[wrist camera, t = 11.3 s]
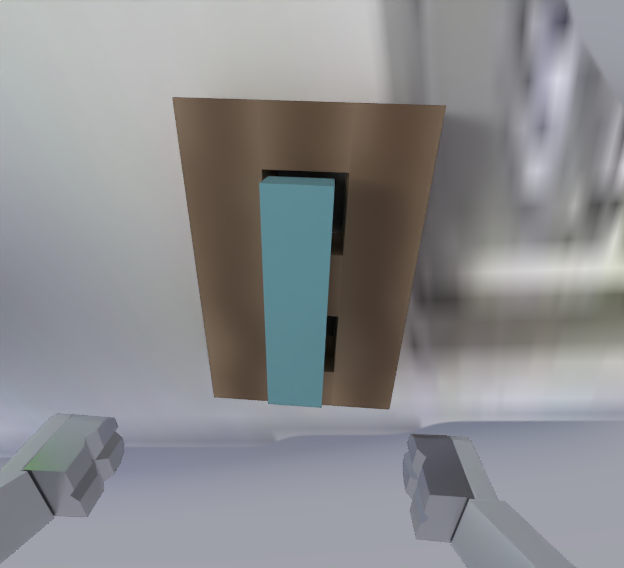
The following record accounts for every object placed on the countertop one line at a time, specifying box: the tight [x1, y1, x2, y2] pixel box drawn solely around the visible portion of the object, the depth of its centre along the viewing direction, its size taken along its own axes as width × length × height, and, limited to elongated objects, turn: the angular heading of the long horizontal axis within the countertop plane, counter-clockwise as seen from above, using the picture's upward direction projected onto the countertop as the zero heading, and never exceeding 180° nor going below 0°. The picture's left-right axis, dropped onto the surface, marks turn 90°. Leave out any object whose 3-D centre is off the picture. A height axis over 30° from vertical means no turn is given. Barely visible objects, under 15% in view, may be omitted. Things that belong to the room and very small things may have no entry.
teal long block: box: [259, 176, 335, 408], centre depth 19 cm, size 3×12×7 cm, turn 178°
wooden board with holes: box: [172, 97, 446, 409], centre depth 20 cm, size 12×18×4 cm, turn 178°
